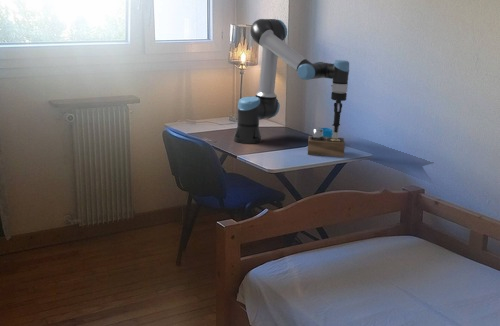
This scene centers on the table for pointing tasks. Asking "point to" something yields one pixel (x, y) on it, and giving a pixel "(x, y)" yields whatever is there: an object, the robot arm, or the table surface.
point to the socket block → (326, 147)
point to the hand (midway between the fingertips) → (335, 138)
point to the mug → (327, 132)
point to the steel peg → (317, 134)
